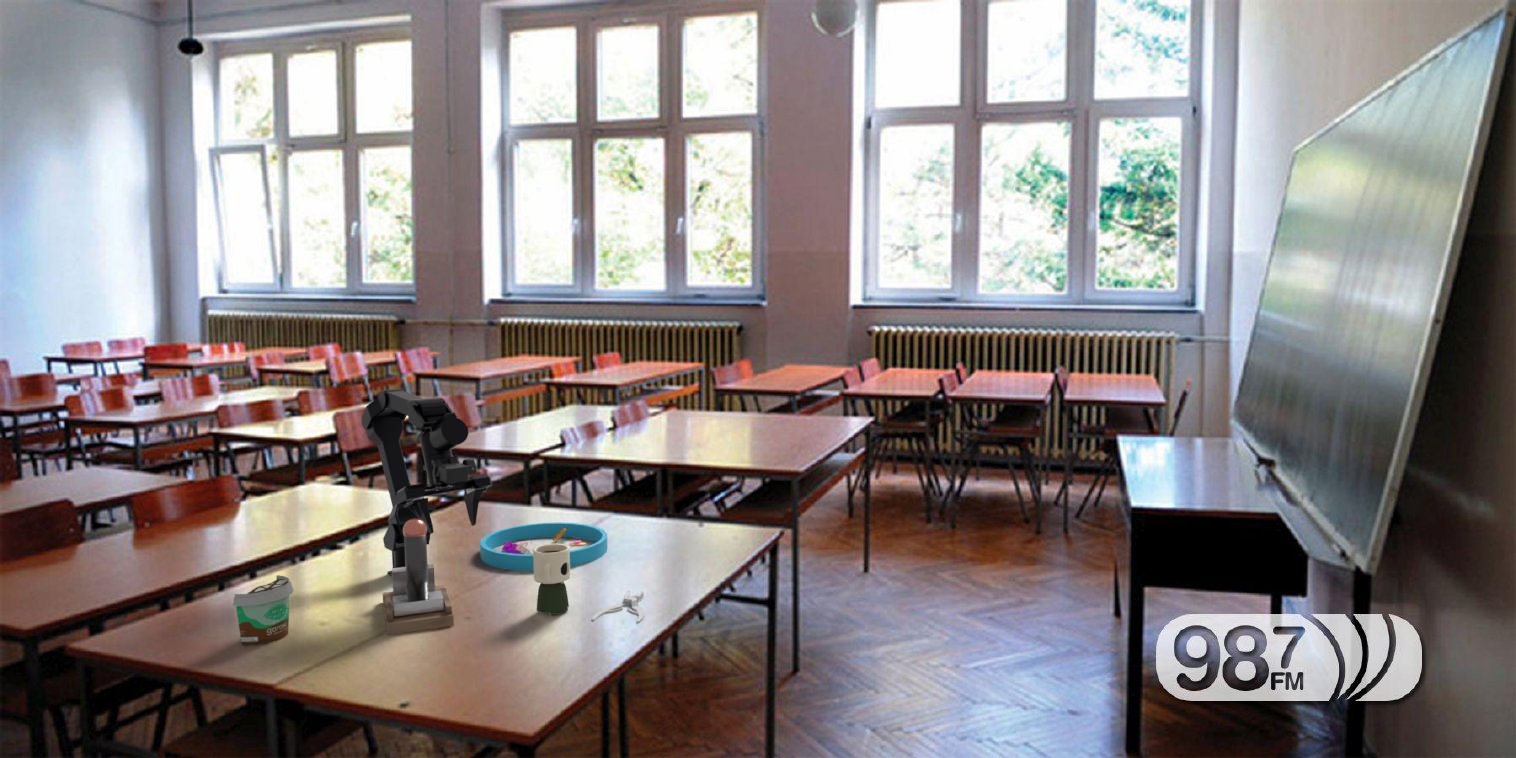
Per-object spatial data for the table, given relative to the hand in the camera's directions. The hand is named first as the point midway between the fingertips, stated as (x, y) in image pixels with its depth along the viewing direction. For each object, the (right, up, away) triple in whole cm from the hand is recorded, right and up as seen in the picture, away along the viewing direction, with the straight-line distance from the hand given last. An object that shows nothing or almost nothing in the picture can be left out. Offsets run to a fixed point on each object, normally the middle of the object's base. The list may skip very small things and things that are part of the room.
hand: (453, 529), depth 203 cm
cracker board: (-5, -15, -8) cm, 18 cm away
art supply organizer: (+11, -11, +35) cm, 39 cm away
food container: (-27, -17, -20) cm, 38 cm away
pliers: (+36, -16, -6) cm, 40 cm away
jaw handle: (-3, -14, -12) cm, 19 cm away
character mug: (+22, -16, -7) cm, 28 cm away
